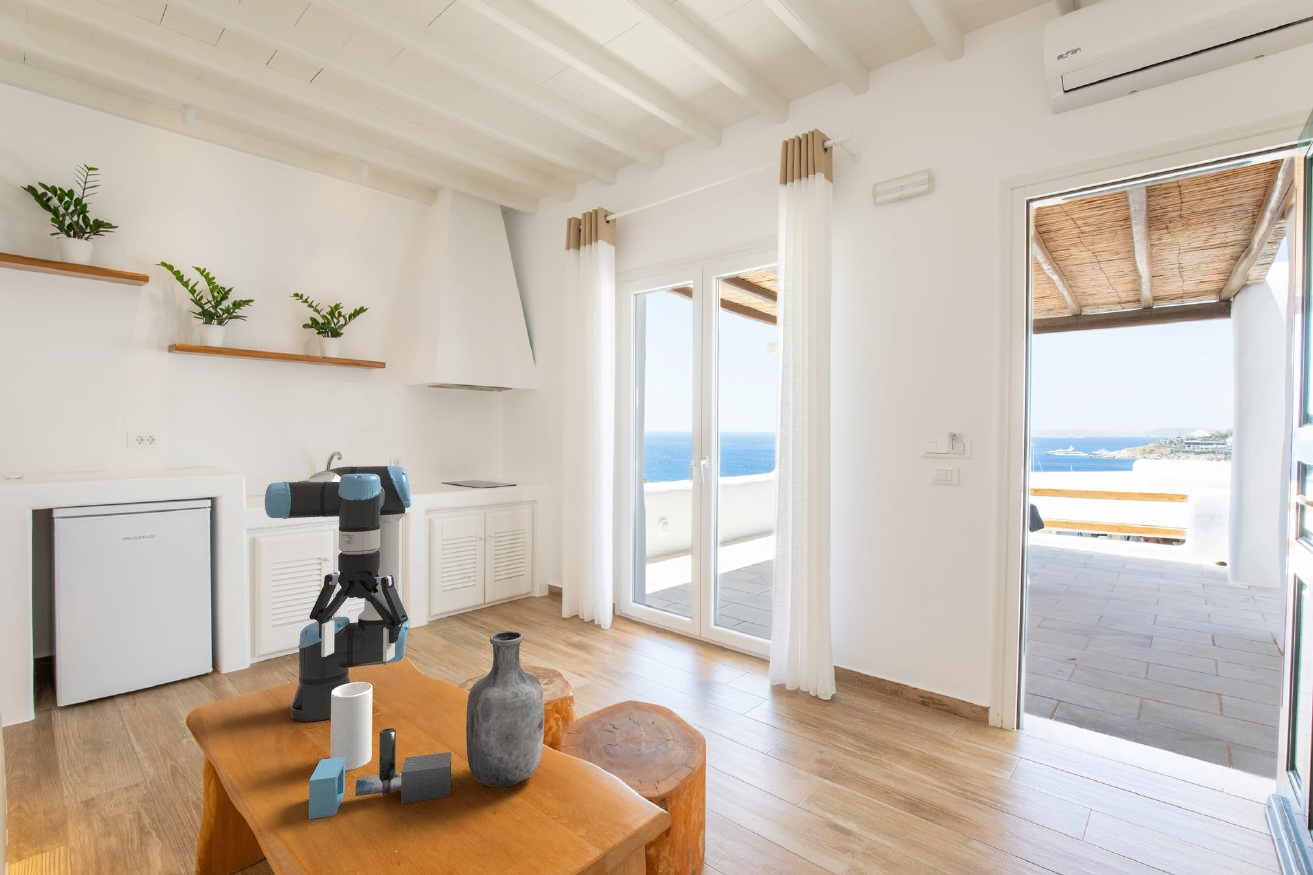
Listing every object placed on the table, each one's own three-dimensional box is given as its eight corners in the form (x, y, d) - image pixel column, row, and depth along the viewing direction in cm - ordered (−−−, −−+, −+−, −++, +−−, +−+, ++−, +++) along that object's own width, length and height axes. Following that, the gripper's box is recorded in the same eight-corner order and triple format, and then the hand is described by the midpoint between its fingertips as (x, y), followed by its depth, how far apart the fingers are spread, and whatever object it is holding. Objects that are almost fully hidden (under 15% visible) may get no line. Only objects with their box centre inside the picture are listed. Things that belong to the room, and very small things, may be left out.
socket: (344, 792, 122) (345, 756, 122) (335, 815, 115) (335, 776, 115) (320, 795, 121) (320, 759, 121) (308, 818, 113) (309, 780, 114)
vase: (473, 808, 117) (475, 653, 117) (459, 769, 131) (460, 630, 132) (553, 787, 124) (554, 641, 125) (531, 752, 139) (532, 621, 139)
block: (451, 780, 127) (451, 751, 127) (449, 796, 121) (449, 766, 121) (405, 786, 124) (405, 757, 124) (401, 803, 119) (401, 772, 119)
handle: (449, 779, 126) (450, 720, 126) (448, 789, 122) (449, 729, 122) (359, 791, 121) (359, 730, 121) (354, 802, 117) (355, 739, 118)
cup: (354, 772, 130) (355, 697, 130) (321, 768, 131) (322, 694, 132) (379, 753, 138) (380, 683, 138) (348, 750, 139) (348, 680, 140)
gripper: (290, 551, 120) (288, 659, 119) (405, 556, 115) (404, 667, 115) (317, 545, 127) (316, 646, 127) (426, 549, 123) (425, 654, 123)
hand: (358, 656), depth 121 cm, fingers open, 13 cm apart
